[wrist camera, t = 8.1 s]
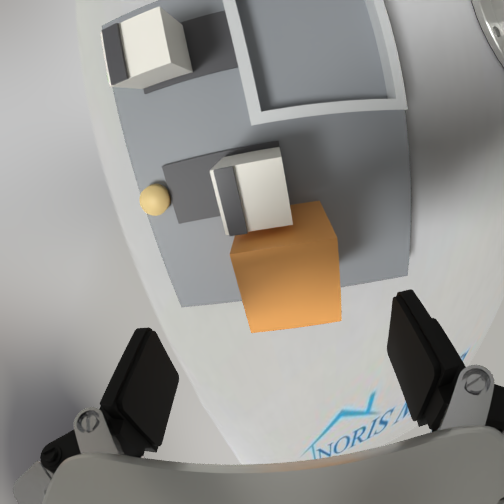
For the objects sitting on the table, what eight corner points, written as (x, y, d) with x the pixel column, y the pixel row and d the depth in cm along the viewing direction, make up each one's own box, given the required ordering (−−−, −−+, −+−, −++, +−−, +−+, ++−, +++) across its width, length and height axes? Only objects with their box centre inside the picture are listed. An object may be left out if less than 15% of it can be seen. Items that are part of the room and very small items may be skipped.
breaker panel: (397, 261, 19) (413, 285, 17) (188, 291, 22) (177, 317, 19) (360, -18, 11) (375, -37, 8) (116, 31, 13) (91, 22, 10)
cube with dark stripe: (288, 200, 16) (293, 226, 12) (235, 209, 16) (225, 237, 13) (279, 146, 14) (281, 157, 11) (223, 157, 15) (208, 171, 11)
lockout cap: (326, 268, 18) (341, 320, 13) (256, 278, 19) (251, 333, 14) (319, 200, 16) (337, 238, 11) (241, 213, 17) (229, 254, 12)
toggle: (193, 72, 13) (169, 61, 9) (141, 89, 13) (107, 86, 10) (182, 25, 11) (157, 4, 8) (132, 43, 12) (98, 32, 8)
